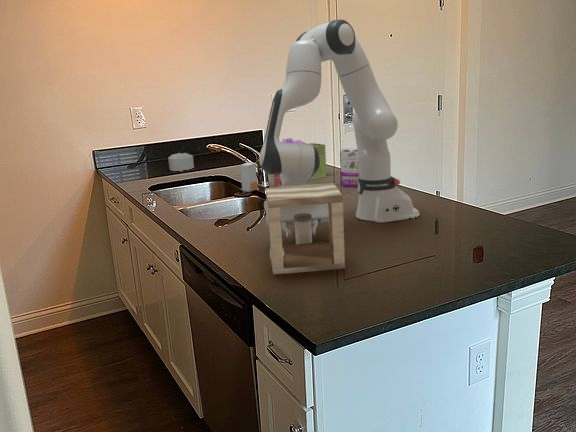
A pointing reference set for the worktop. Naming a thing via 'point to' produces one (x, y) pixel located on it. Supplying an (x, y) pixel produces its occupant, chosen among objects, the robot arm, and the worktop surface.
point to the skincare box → (248, 177)
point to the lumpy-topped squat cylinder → (180, 162)
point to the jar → (303, 228)
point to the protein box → (322, 156)
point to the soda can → (277, 181)
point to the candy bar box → (349, 167)
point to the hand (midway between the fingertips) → (301, 235)
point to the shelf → (310, 253)
